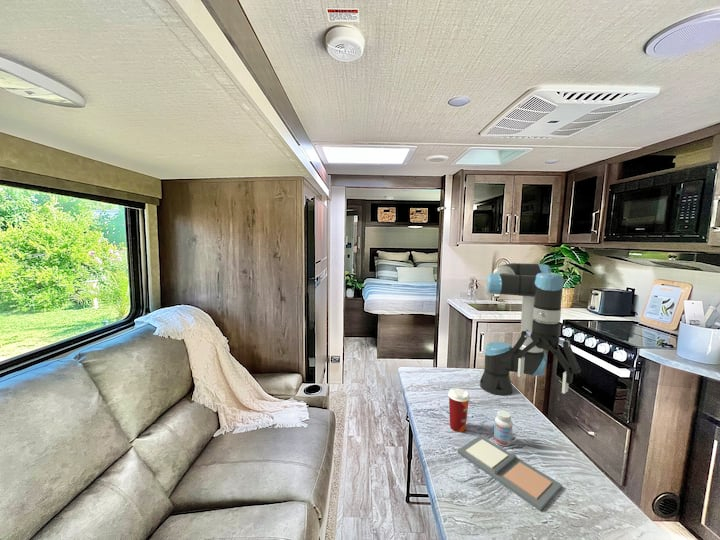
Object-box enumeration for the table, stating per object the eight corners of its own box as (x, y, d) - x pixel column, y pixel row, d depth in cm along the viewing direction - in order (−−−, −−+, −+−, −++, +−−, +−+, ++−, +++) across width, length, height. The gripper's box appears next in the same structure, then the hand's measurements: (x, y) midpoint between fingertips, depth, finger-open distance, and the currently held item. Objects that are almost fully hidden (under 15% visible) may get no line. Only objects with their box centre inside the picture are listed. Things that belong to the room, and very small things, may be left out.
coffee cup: (469, 435, 116) (471, 399, 115) (447, 432, 118) (449, 396, 116) (466, 422, 125) (468, 388, 123) (446, 419, 126) (447, 386, 124)
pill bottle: (491, 441, 113) (492, 413, 112) (496, 433, 117) (498, 407, 116) (508, 449, 109) (510, 420, 108) (513, 441, 113) (515, 413, 112)
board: (480, 437, 115) (480, 432, 115) (561, 487, 92) (562, 481, 92) (457, 452, 107) (457, 446, 107) (540, 511, 84) (540, 504, 84)
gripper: (502, 314, 104) (499, 372, 106) (588, 333, 84) (581, 404, 86) (513, 311, 109) (509, 367, 111) (597, 328, 88) (591, 396, 91)
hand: (541, 383), depth 99 cm, fingers open, 13 cm apart
